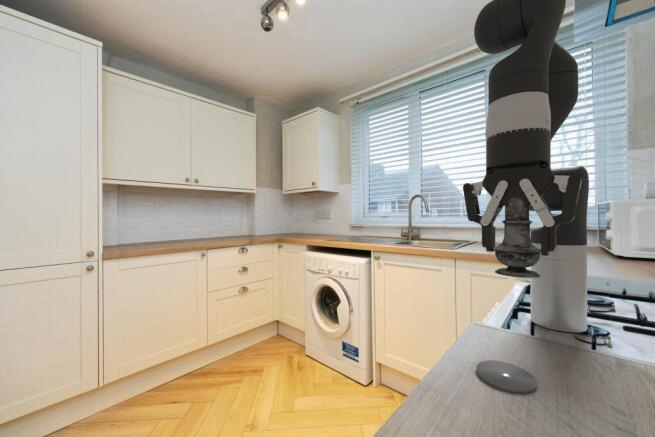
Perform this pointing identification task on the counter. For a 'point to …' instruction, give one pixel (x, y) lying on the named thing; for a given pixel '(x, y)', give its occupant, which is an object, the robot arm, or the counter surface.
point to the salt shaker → (517, 242)
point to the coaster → (506, 376)
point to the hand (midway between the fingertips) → (516, 252)
